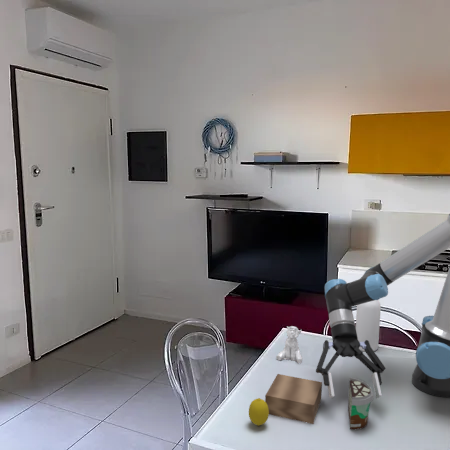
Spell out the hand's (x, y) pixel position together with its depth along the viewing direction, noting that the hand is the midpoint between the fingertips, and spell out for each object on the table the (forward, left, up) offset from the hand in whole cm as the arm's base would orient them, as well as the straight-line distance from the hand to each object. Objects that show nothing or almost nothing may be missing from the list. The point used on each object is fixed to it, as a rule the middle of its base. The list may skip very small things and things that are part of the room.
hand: (355, 397), depth 130 cm
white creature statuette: (+23, -34, -7) cm, 42 cm away
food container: (-2, +1, -7) cm, 7 cm away
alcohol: (-4, -52, -7) cm, 52 cm away
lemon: (+25, +12, -7) cm, 29 cm away
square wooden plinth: (+17, -1, -7) cm, 19 cm away
